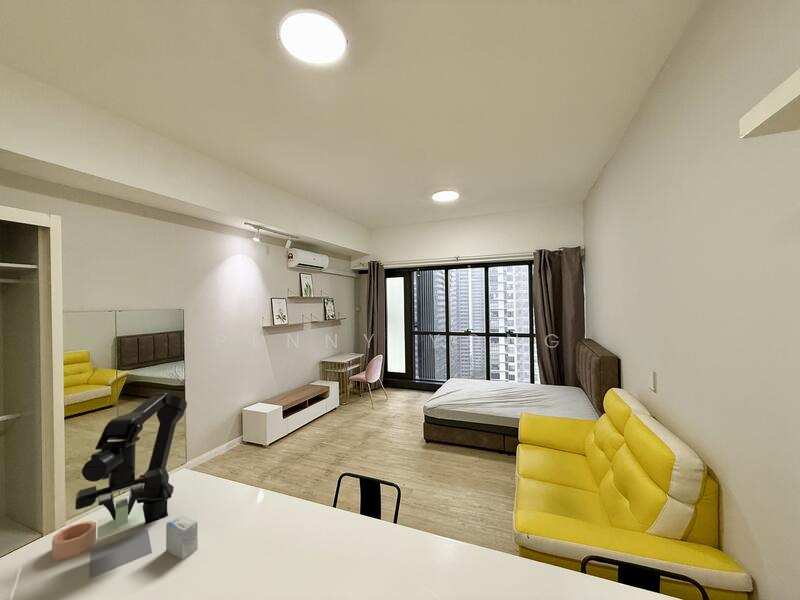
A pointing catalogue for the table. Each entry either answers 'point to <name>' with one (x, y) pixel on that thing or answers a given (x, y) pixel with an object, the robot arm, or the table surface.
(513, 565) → the table surface
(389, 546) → the table surface
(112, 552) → the mat
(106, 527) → the mint green lid
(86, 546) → the bowl
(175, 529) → the medicine box
